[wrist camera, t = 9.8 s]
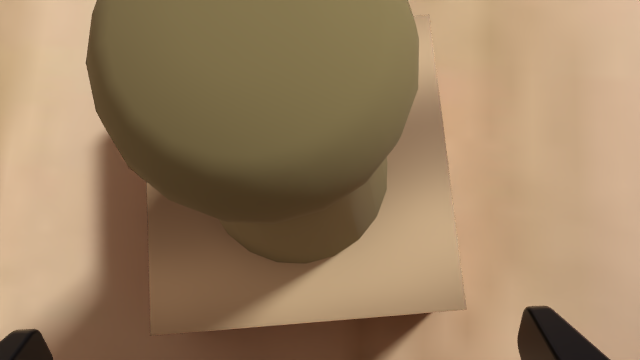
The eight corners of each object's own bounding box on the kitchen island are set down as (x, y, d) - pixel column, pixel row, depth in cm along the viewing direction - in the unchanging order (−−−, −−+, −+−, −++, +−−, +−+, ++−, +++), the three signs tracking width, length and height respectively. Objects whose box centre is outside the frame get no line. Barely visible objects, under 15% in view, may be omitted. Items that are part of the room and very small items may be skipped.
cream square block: (441, 303, 21) (466, 309, 17) (184, 324, 21) (150, 336, 17) (412, 59, 23) (429, 14, 19) (175, 80, 23) (142, 39, 19)
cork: (168, 166, 18) (-77, 3, 7) (303, 49, 19) (261, -260, 8) (289, 303, 17) (213, 350, 6) (426, 177, 18) (568, 23, 7)
